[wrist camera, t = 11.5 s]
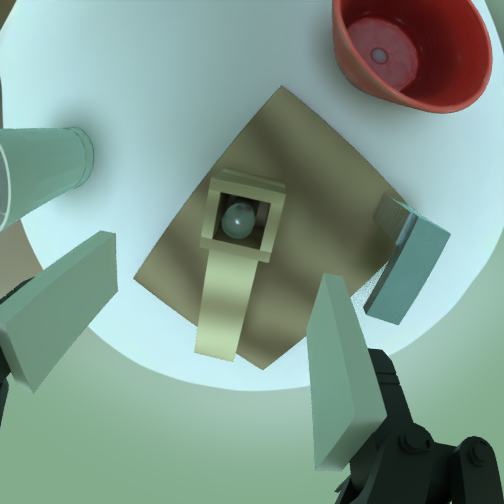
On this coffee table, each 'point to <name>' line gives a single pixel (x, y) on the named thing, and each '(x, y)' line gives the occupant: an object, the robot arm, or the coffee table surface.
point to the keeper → (404, 259)
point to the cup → (40, 167)
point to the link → (233, 259)
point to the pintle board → (282, 227)
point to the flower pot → (414, 51)
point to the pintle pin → (240, 217)
